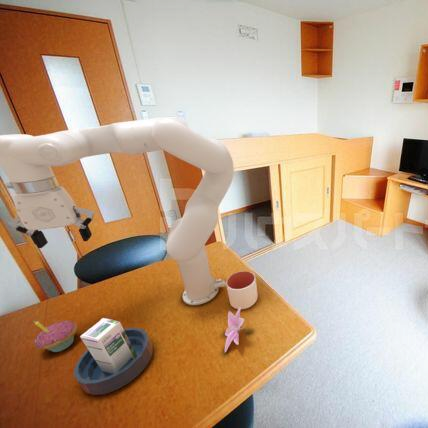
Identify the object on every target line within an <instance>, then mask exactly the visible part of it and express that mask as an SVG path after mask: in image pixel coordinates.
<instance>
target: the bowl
mask: <svg viewBox="0 0 428 428" xmlns="http://www.w3.org/2000/svg"><path fill="white" fill-rule="evenodd" d="M123 329H124V331H125V333H126V335H127V337H128V339H129V341H130V343H131V345H132V346H133V348H134V350H135V352H136V354H137V357H136V358H135V359H134V360H133V361H132V362H131V363H130V364H129V365H127V366H126V367H125V368H123V369H122V370H120V371H118V372H116V373H114V374H110V373H107V372H103V371H102V370H101V368H100V367H99V365H98V364H97V362H96V361H95V359H94V358H93V356H92V354H91V353H90V351H89V350H88V348H87V349H86V350H85V351H84V353H82V355H81V356H80V357H79V358H78V360H77V363H76V364H75V366H74V368H73V369H74V371H73V376H74V378H75V379H76V381H77V383H78V384H79V386H80V387H81V388H82V389H83V392H84V393H86V394H89V395H91V396H100V395H101V396H102V395H107V394H110V393H113V392H116V391H118V390H119V389H121V388H123V387H125V386H127V385H128V384H129V383H131V382H132V381H133V380H135V379H136V378H137V377H139V375H140V374H141V373H142V372H143V371H144V370H145V369H146V368H147V367H148V365H149V363H150V361H151V359H152V357H153V353H154V347H153V343H152V342H151V339H150V336H149V334H148V333H147V332H146V331H145V330H144V329H142V328H138V327H126V328H123Z"/></svg>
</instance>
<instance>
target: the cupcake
mask: <svg viewBox="0 0 428 428" xmlns="http://www.w3.org/2000/svg"><path fill="white" fill-rule="evenodd" d="M32 323H34V325H35V326H37V327H38V328H40V329H41V330H42V331H41V332H39V333H38V334H37V335H36V338H35V339H34V343H33V344H34V346H35V347H36V348H37V349H39V350H48V351H50V352H52V353H58V352H62V351H64V350H65V349H68V348H70V346H71V345H72V344H73V343H74V340H75V339H74V337H75V336H74V335H76V332H77V330H78V325H77V324H76V323H75V322H74V321H70V320H63V321H59V322H55V323H52V324H50V325H48V326H47V327H45V326H44V325H42V324H41V323H40V322H39V321H35V320H33V322H32Z"/></svg>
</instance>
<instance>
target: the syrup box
mask: <svg viewBox="0 0 428 428" xmlns="http://www.w3.org/2000/svg"><path fill="white" fill-rule="evenodd" d="M124 329H125V328H124V327H123V325H122V323H121V321H119V320H114V319H112V318H111V319H110V318H105V317H102V318H101V319H100V320H99V321H98V322H96V323H95V324H94V325H93V326H91V327H90V328H88V329H87V330H86V331H85V332H84V333H82V334H81V335H80V336H79V338H80V339H81V341H82V342H83V344H84V346H85V347H86V348H87V349H88V350H89V351H90V353H91V354H92V356H93V358H94V359H95V361H96V362H97V364H98V365H99V367H100V368H101V370H102V371H103V372H107V373H110V374H114V373H116V372H118V371H120V370H122V369H123V368H125V367H126V366H127V365H129V364H130V363H131V362H132V361H133V360H134V359H135V358H136V357H137V354H136V352H135V350H134V348H133V346H132V345H131V343H130V341H129V339H128V337H127V335H126V333H125V331H124Z"/></svg>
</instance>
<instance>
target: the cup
mask: <svg viewBox="0 0 428 428" xmlns="http://www.w3.org/2000/svg"><path fill="white" fill-rule="evenodd" d="M225 282H226V286H225V287H226V291H227V296H228V300H229V301H228V302H229V304H230V306H231V307H232V308H234V309H235V310H238V309H239V308H240V307H241V310H246V309H248V308H250V307H253V305H254V304H256V303H257V300H258V297H259V294H258V288H257V287H258V286H257V279H256V275H255V274H254V273H253V272H252V271H249V270H240V271H237V272H234V273H233V274H231V275H229V277H228V278H227V279H226V280H225Z"/></svg>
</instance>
